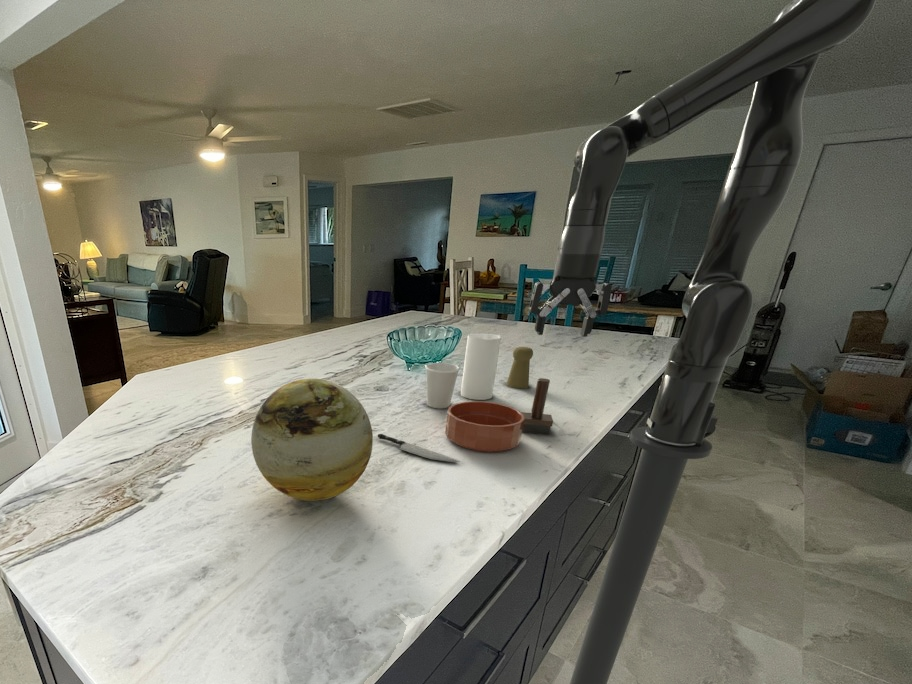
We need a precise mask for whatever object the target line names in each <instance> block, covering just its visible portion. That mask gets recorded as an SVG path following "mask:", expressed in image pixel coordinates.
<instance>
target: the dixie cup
mask: <svg viewBox="0 0 912 684" xmlns="http://www.w3.org/2000/svg"><path fill="white" fill-rule="evenodd" d="M424 368H425V378H426V380H425V381H426V405H427V406H428V407H430V408H434V409H448V408H449V407H450V406H451V402H452V398H453V395H454V394H453V393H454V390H455V386H456V382H457V379H458V374H459V371H460V367H459V366H458V365H456V364H453V363H448V362H447V363H446V362H433V363H428V364H426V365H425V366H424Z"/></svg>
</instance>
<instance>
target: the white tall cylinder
mask: <svg viewBox="0 0 912 684" xmlns="http://www.w3.org/2000/svg"><path fill="white" fill-rule="evenodd" d="M466 338H467V340H466V347H465V353H464V354H465V355H464V363H463V371H462V377H461V378H462V379H461V387H460V396H461V397H463V398H466V399H468V400H469V399H470V400H473V401H475V400H476V401H486V400H490V399H492V397H493V393H494V387H495V381H496V375H497V368H498V362H499V355H500V348H501V342H502V336H501V335H499V334H494V333H486V332H484V333H483V332H478V333H477V332H476V333H470V334H468V335H467V337H466Z"/></svg>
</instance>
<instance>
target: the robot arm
mask: <svg viewBox="0 0 912 684" xmlns="http://www.w3.org/2000/svg"><path fill="white" fill-rule="evenodd" d="M876 2H877V0H792V1H790V2H789V3H788V4H787V5H786V6H785V7H783V9H781V10H780V12H778V14H777V15H776V17H775V19H774V20H773V21H772V23H771V24H770V25H769V26H767V27H766V28H765V29H763V30H762V31H760V32H759V33H757V34H756V35H754V36H753V37H751V38H750V39H748V40H746V41H745V42H743V43H742V44H740V45H738V46H736V47H735V48H733V49H731V50H730V51H728V52H726V53H724V54H723V55H721V56H719V57H717V58H715V59H713V60H712V61H710V62H709V63H707V64H705V65H703V66H700V67H699V68H698V69H696V70H694V71H693V72H690V73H688V74H687V75H685V76H683V77H682V78H680V79H679V80H677V81H675V82H674V83H672V84H670V85H669V86H667V87H666V88H664V89H662V90H661V91H659V92H658V93H656V94H654V95H653V96H651V97H650V98H648V99H646V100H645V101H644V102H642V103H641V104H640V105H639V106H637V107H636V108H635V109H633V110H632V111H630V112H629V113H627V114H626V115H624V116H622V117H620V118H618V119H616V120H615V121H613V122H611V123H609V124H608V125H606V126H605V127H602V128H601V129H599V130H597V131H595V132H593V133H592V134H591V135H589V136H587V137H585V139H584V140H582V142H581V143H580V145H578V147H577V150H576V151H575V154H574V159H573V165H574V168H575V170H576V171H577V173H578V174H579V178H578V182H577V185H576V190H575V192H574V194H573V195H572V196H571V198H570V201H569V203H568V207H567V212H566V217H565V221H564V227H563V231H562V233H561V236H560V239H559V244H558V247H557V256H556V260H555V266H554V270H553V275H552V280H551V281H550V283H544V282H540V281H536V282H535V283H534V285H533V290H532V293H531V297H530V302H529V305H528V311H529V312H530V313H531V314H534V315H536V319H535V323H534V331H535V332H536V334H537V336H543V333H544V330H545V324H546V320H547V314H548V313H550V312H551V310H553V309H555V307H556V306H558V305H559V306H564V307H565V306H572V307H578V306H580V307H581V308H582V310H583V312H584V313H585V316H584V317H583V321H582V326H581V330H580V336H581V337H584V338H585V337H588V335H590V334H591V333H592V331H593V326H594V322H595V319H596V318H597V317H600V316H605V315H607V313H608V309H609V303H610V299H611V293H612V286H613V285H612V284H611V283H609V282H603V283H596V277H597V273H598V269H599V264H600V260H601V256H602V251H603V246H604V244H605V243H604V242H605V239H606V238H605V237H606V236H605V235H606V227H607V226H606V225H607V223H608V219H609V214H610V210H611V206H612V200H613V196H614V194H615V191H616V189H617V187H618V184H619V182H620V179H621V176H622V173H623V171H624V168H625V165H626V162H627V159H628V158H629V157H630V156H632V155H633V154H635V153H637V152H638V151H640V150H642V149H644V148H646V147H649V146H651V145H654V144H656V143H658V142H660V141H662V140H664V139H665V138H667V137H668V136H671V135H672V134H674V133H675V132H677V131H679V130H680V129H683V128H684V127H687V126H688V125H689V124H691V123H692V122H694V121H696V120H697V119H699V118H700V117H702V116H703V115H705V114H707V113H708V112H710V111H712V110H713V109H714V108H716V107H718V106H720V105H721V104H723V103H724V102H726V101H727V100H729V99H731V98H733V97H734V96H735V95H737V94H738V93H741V91H743V90H745V89H747V88H749V87H750V86H752V85H754V90H753V92H752V97H751V101H750V104H749V107H748V110H747V113H746V116H745V118H744V121H743V124H742V128H741V130H740V133H739V136H738V140H737V143H736V146H735V149H734V152H733V155H732V157H731V161H730V163H729V165H728V168H727V171H726V175H725V177H724V180H723V184H722V187H721V189H720V193H719V196H718V200H717V204H716V207H715V211H714V214H713V217H712V220H711V224H710V228H709V232H708V236H707V240H706V243H705V247H704V250H703V252H702V254H701V258H700V260H699V263H698V265H697V267H696V269H695V271H694V273H693V276H692V277H691V280H690V282H689V284H688V286H687V289H686V291H685V293H684V296H683V298H682V303H681V309H682V312H683V313H682V314H683V315H684V316H685V318H686V319H685V323H684V325H683V328H682V332H681V334H680V336H679V339H678V341H677V342H676V343H675V344H674V345H673V346H672V348H671V350H670V353H669V357H668V360H667V362H666V366H665V369H664V372H663V376H662V379H661V382H660V385H659V389H658V392H657V396H656V398H655V401H654V405H653V408H652V411H651V414H650V417H647V420H646V424H647V426H646V427H647V429H646V431H645V436H646V437H647V438H648V439H650V440H652V441H654V442H657V443H660V444H664V445H668V446H673V447H694V446H696V447H701V444H702V441H703V439H706V438H708V437H709V436H711V435H712V434H714V433H715V431H716V429H717V428H716V427H717V426H716V425H717V422H718V417H717V416H715V415H714V411H715V408H716V406H717V404H716V402H714V401H713V400H714V398H715V395H716V393H717V389H718V387H719V384H720V381H721V378H722V375H723V373H724V370H725V367H726V365H727V362H728V360H729V358H730V356H731V355H732V354H733V353H734V352H735V350H736V348H737V347H738V345H739V342H740V339H741V338H742V335H743V332H744V329H745V327H746V325H747V323H748V321H749V318H750V315H751V312H752V308H753V305H754V294H753V291H752V289H751V288H750V286H748V285H747V284H746V283H745V282H743V279H744V276H745V273H746V269H747V266H748V262H749V259H750V257H751V254H752V253H753V250H754V247H755V246H756V244H757V243H758V241H759V239H760V238H761V237H762V235H763V233H765V230H766V229H767V228H768V226H769V224H771V222H772V221H773V219H774V217H775V216H776V214H777V213H778V211H779V209H780V208H781V206H782V204H783V203H784V201H785V199H786V197H787V194H788V192H789V190H790V187H791V186H792V182H793V181H794V177H795V175H796V172H797V169H798V166H799V164H800V161H801V158H802V152H803V148H804V127H803V102H804V98H805V94H806V91H807V87H808V85H809V83H810V80H811V77H812V75H813V72H814V71H815V68H816V65H817V63H818V61H819V59H820V56H821V55H822V54H823V53H826V52H827V51H830V50H832V49H834V48H836V47H837V46H839V45H840V44H842V43H843V42H845V41H846V40H847V39H849V38H850V37H851V36H853V35H854V33H856V32H857V31H858V30H859V28H861V27H862V26H863V24H864V23H865V22H866V20H867V19H868V18H869V16H870V15H871V14H872V11H873V10H874V7H875V5H876ZM547 290H548V291H549V292H550V294H551V296H550V297H549V298H548V299H547V300H546V301H545V302H544V303H543V305H542V306H540V308H539V304H540V302H541V297H542V295H544V294H545V293H546V291H547ZM595 291H596V295H598V300H597V305H596V308H595V309H594V306H593V303H592V302H591V301H590V298H589V297H590V296H591V295H592V294H593V293H594V292H595Z"/></svg>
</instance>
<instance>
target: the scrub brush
mask: <svg viewBox="0 0 912 684" xmlns="http://www.w3.org/2000/svg"><path fill="white" fill-rule="evenodd" d="M550 383H551V380H550V379H549V378H544V377H543V378H542V377H541V378H538V379H537V381H536V386H535V391H534V395H533V396H534V397H533V401H532V407H531V411H530V412H525V411H520V412H521V413H522V414H523V415H524V418H525V420H524V425H523V430H522V433H530V434H540V435H547V436H548V435H550V433H551V429H552V427H553V425H554V420H553V416H552V414H547V413H544V412H545V407H546V402H547V397H548V392H549V387H550Z"/></svg>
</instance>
